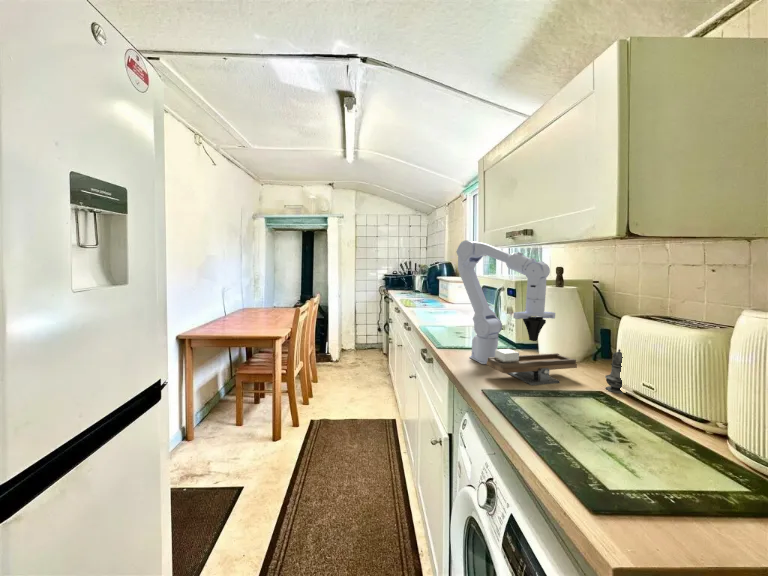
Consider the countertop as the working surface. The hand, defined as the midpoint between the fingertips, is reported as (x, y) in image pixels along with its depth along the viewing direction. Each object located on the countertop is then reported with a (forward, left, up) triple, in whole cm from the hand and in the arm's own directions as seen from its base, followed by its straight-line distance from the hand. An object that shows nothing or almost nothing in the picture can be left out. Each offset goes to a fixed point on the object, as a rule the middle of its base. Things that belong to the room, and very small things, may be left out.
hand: (532, 340), depth 118 cm
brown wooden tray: (+5, -4, -7) cm, 9 cm away
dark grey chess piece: (+20, +13, -11) cm, 26 cm away
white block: (+5, -13, -6) cm, 15 cm away
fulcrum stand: (+5, -4, -10) cm, 12 cm away
